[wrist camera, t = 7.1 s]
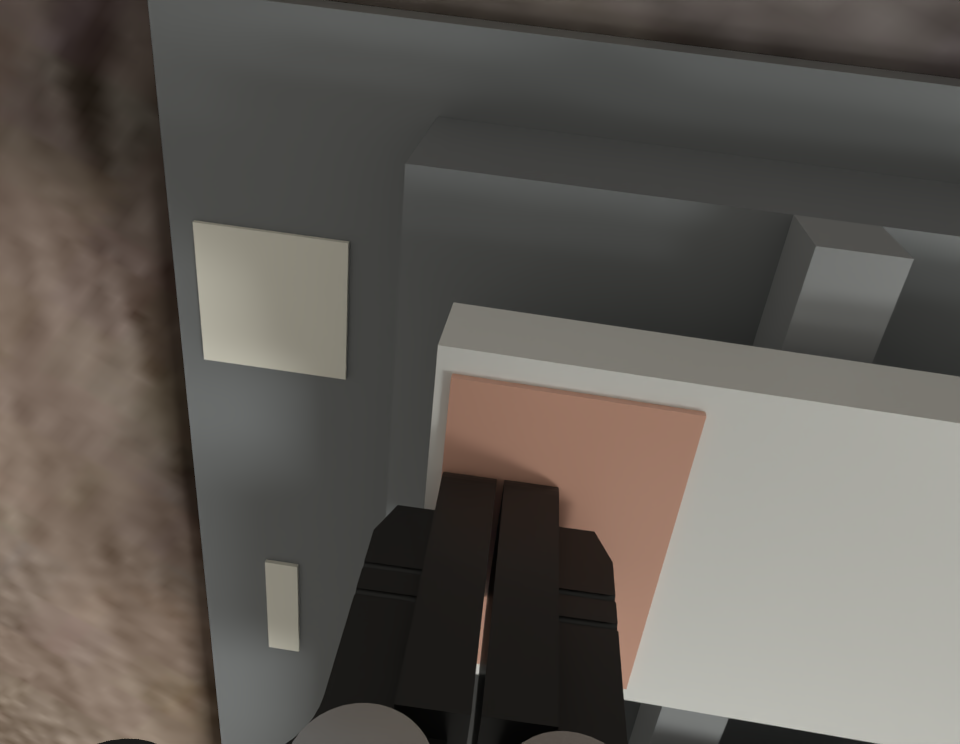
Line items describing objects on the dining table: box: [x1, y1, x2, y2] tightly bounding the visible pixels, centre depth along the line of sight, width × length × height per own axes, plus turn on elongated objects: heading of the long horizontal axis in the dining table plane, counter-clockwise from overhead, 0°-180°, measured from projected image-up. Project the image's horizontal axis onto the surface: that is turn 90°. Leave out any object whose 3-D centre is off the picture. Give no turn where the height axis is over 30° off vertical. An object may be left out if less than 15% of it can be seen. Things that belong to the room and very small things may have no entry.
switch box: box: [148, 0, 960, 744], centre depth 19 cm, size 18×28×5 cm, turn 174°
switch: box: [424, 302, 960, 744], centre depth 11 cm, size 10×6×1 cm, turn 84°
